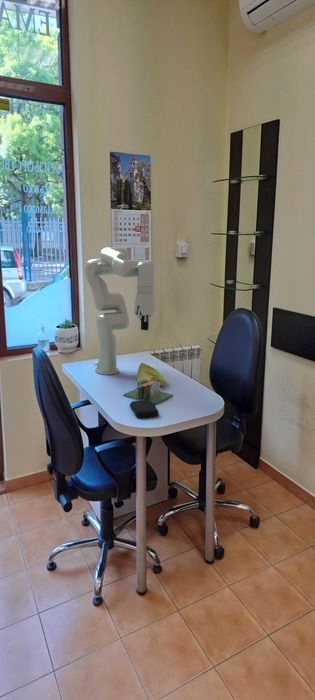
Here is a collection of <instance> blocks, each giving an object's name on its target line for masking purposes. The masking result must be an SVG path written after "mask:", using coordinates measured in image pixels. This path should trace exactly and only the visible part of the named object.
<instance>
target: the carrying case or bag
mask: <svg viewBox="0 0 315 700" xmlns="http://www.w3.org/2000/svg"><path fill="white" fill-rule="evenodd" d="M129 407H130V408H131V410H132V412H133V413H134V415H135V416H136V418H137V419H146V418H147V419H148V418H156V417H157V416H159V412H160V411H159V410H158V409H157V408H156V405H155V404H154V403H152V402H150V401H149V400H143V401H140V400H134V401H131V402H130V404H129Z"/></svg>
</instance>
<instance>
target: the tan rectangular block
mask: <svg viewBox="0 0 315 700" xmlns="http://www.w3.org/2000/svg"><path fill="white" fill-rule="evenodd" d="M154 382H156V381H153V380H151V381H149V382H147V383H144V384H142V385H140V387H144V393H143V396H144V395H145V388H146V387H148V386H149V384H151V383H154Z"/></svg>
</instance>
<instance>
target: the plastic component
mask: <svg viewBox="0 0 315 700" xmlns="http://www.w3.org/2000/svg"><path fill="white" fill-rule="evenodd" d="M136 378H137V381H140V380H142V379H148V382H149V381H151V380H153V381H154V380H159V382H160V387H164V386H165V385H166V383H167V379H166V378H165V377H164V376H163V375H162V374H161V373H160V372H159V371H158V369H156V368H155V367H153V366H151V365H149V364H146V363H143V362H141V363H140V364H139V366H138V368H137V373H136Z"/></svg>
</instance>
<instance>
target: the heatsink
mask: <svg viewBox="0 0 315 700" xmlns="http://www.w3.org/2000/svg"><path fill="white" fill-rule="evenodd" d="M154 381H156V382H154V383H151V384H149V386H148V387H146V388H145V395H144V396H143V393H144V387H140V385H142V384H144V383H147V382H148V379H142V380H140V381H138V380H137V381H136V388H134V389H132V390H131V391H128V392H126V393H123V394H122V396H123V397H125V398H129V399H133V400H135V401H143V400H149V401H150V402H152V403H154V404H155V405H159V404H160V403H163V402H164V401H166V400H168V399H171V398H172V397H173V396H174V394H173V393H172V394H171V393H168V392H164V391H161V386H160V382H159V380H154Z"/></svg>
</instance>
